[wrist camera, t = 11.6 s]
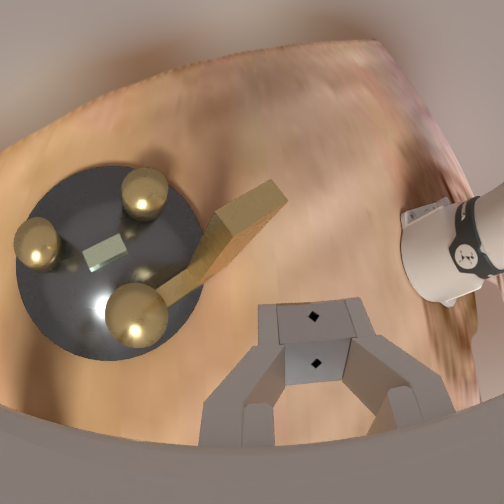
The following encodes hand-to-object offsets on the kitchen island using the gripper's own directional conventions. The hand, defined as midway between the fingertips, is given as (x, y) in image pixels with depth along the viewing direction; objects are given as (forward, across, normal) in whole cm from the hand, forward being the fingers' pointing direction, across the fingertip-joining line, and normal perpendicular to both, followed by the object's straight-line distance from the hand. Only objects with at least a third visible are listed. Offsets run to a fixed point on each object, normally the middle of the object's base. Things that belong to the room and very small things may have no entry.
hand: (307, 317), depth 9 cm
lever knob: (+17, +11, +13) cm, 24 cm away
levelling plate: (+20, +18, +9) cm, 28 cm away
